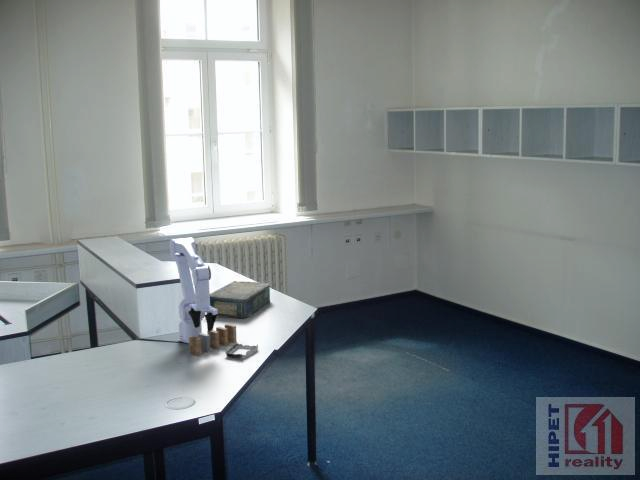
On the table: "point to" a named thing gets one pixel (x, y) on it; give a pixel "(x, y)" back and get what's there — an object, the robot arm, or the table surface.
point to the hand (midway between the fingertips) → (203, 328)
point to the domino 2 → (205, 342)
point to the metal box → (240, 299)
